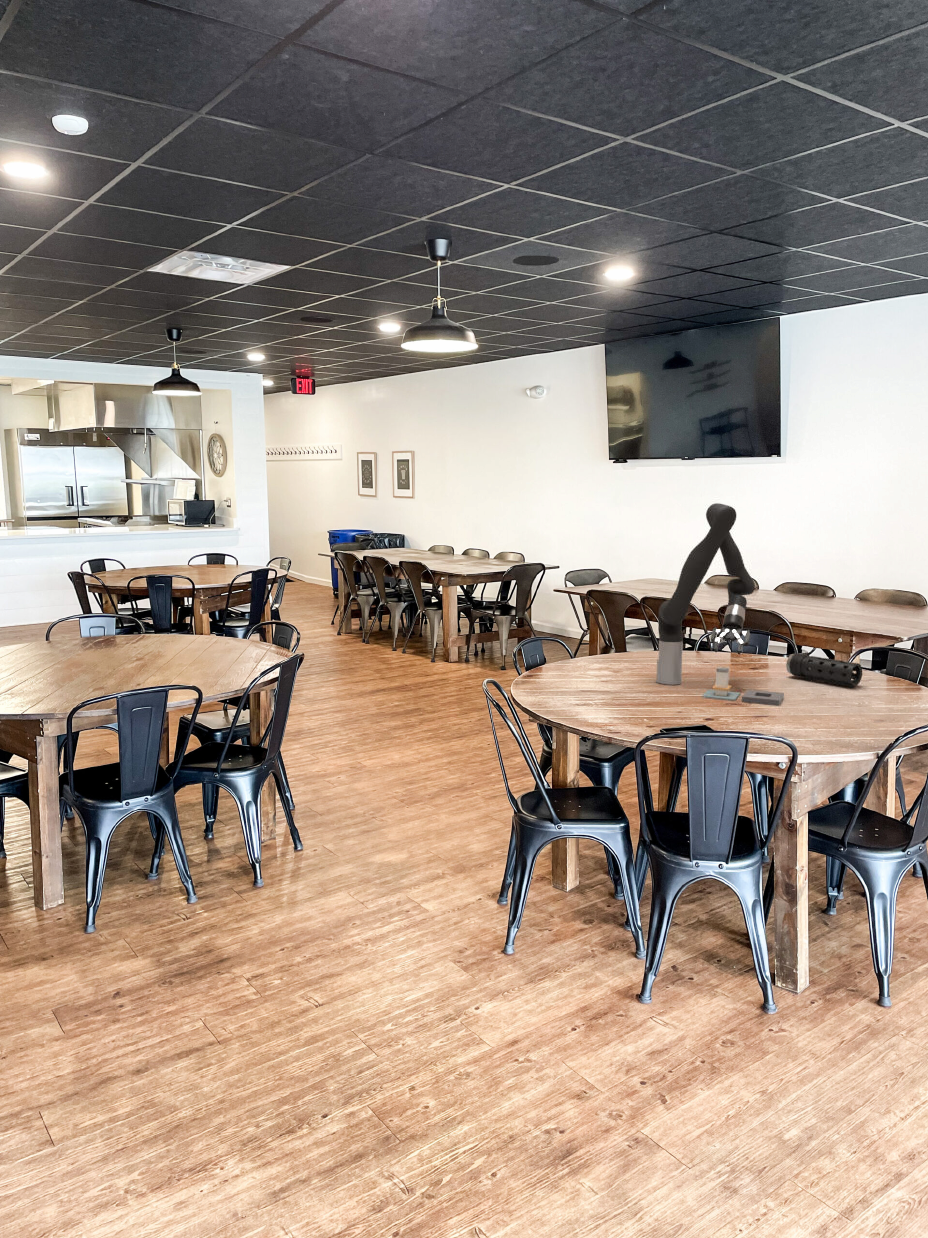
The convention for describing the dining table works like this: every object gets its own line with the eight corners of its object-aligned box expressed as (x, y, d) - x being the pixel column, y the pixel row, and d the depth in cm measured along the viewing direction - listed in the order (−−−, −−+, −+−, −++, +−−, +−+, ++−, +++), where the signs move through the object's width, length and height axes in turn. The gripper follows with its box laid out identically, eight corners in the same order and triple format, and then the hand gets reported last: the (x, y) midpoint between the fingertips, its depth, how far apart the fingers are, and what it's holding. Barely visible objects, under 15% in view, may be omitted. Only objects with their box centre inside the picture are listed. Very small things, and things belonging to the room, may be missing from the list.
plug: (711, 695, 326) (713, 669, 325) (714, 691, 332) (716, 666, 330) (728, 696, 324) (729, 670, 322) (731, 693, 329) (732, 667, 327)
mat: (701, 697, 325) (702, 696, 325) (708, 691, 336) (708, 689, 336) (735, 700, 320) (735, 699, 320) (740, 694, 330) (740, 692, 330)
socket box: (741, 702, 318) (742, 696, 318) (747, 694, 330) (747, 689, 329) (779, 705, 312) (779, 700, 312) (783, 698, 324) (783, 692, 324)
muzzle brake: (849, 690, 337) (851, 664, 336) (784, 678, 359) (785, 653, 357) (861, 687, 343) (863, 661, 341) (797, 675, 365) (798, 651, 363)
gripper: (714, 611, 342) (707, 645, 334) (752, 614, 336) (745, 648, 328) (716, 623, 348) (709, 656, 339) (753, 626, 341) (747, 659, 333)
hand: (727, 652), depth 333 cm, fingers open, 8 cm apart
